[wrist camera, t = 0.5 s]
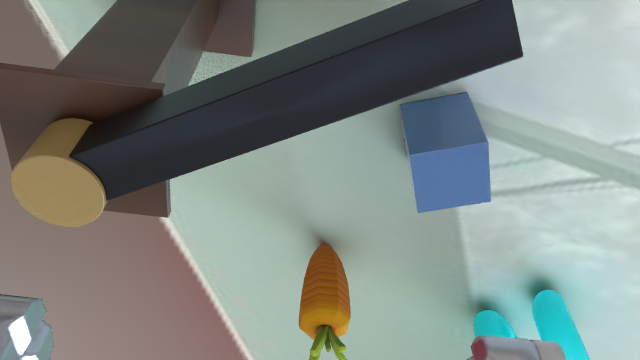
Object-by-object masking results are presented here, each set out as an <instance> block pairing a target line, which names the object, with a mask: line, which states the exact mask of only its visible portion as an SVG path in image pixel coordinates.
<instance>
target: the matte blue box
mask: <svg viewBox="0 0 640 360" xmlns="http://www.w3.org/2000/svg"><path fill="white" fill-rule="evenodd" d="M399 107H400V114H401V120H402V127H403V133H404V140H405V146H406V153H407V159H408V164H409V170H410V175H411V180H412V185H413V190H414V195H415V201H416V206H417V211H418V213H421V212H427V211H434V210H440V209H446V208H453V207H459V206H466V205H472V204H479V203H485V202H491V190H490V169H489V147H488V140H487V138H486V135H485V133H484V131H483V128H482V126H481V123H480V121H479V119H478V116H477V114H476V112H475V109H474V107H473V104H472V102H471V100H470V97H469V95H468V93H467V92H466V93H461V94H455V95H450V96H444V97H439V98H433V99H428V100H423V101H417V102H412V103H406V104H401V105H399Z"/></svg>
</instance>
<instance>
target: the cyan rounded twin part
mask: <svg viewBox="0 0 640 360" xmlns="http://www.w3.org/2000/svg"><path fill="white" fill-rule="evenodd" d="M532 310H533V317H534V321H535V324H536V327H537V329H538V332H539V335H540V337H541V340H542V341H552V342H557V343H558V344H559V345H560V346H561V347H562V350H563V352H564V354H565V357H566V359H567V360H590V358H589V356H588V354H587V351H586V349H585V347H584V345H583V342H582V340H581V338H580V335H579V333H578V331H577V329H576V326H575V324H574V322H573V320H572V318H571V316H570V313H569V311H568V309H567V307H566V305H565V303H564V301H563V299H562V297H561V296H560V295H559V294H558V293H557V292H555V291H553V290H543V291H541V292H539V293H538V294H537V295H536V297H535V299H534V301H533V308H532ZM474 333H475V337H478V336H479V335H481V336H495V337H509V338H517V337H516V335H515V333H514V331H513V330H512V328H511V326H510V325H509V323H508V322H507V321H506V319H505V318H504V317H503V316H501V315H500V314H499V313H497V312H495V311H492V310H484V311H481V312H480V313H478V314H477V315H476V317H475V320H474Z"/></svg>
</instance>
